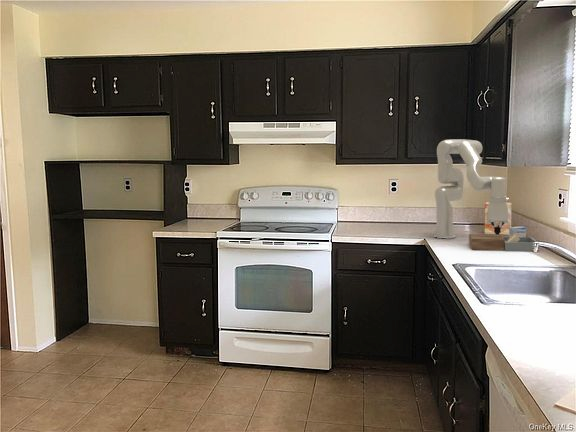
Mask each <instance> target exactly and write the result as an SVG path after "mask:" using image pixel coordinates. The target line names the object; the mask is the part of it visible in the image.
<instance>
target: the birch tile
mask: <svg viewBox="0 0 576 432" xmlns="http://www.w3.org/2000/svg"><path fill="white" fill-rule="evenodd" d="M519 240H520V239H519V238H518V237H517V236H516V235H515V234H513V235H512V236H511V237H510V238H509V239H507V240H506V242H518V241H519Z"/></svg>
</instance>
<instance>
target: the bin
mask: <svg viewBox="0 0 576 432" xmlns="http://www.w3.org/2000/svg"><path fill="white" fill-rule="evenodd" d="M502 237H503V238H504V239H505V248H504V251H505V252H533V251H532V243H533V242H538V241H537V240H536V239H535V238H533V237H531V236H526V237H518V238H519V239H520V240H519V241H518V242H506V240H507V239H509V238H510V237H509V236H502ZM539 251H540V249H539V250H538V253H540V252H539Z"/></svg>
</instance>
